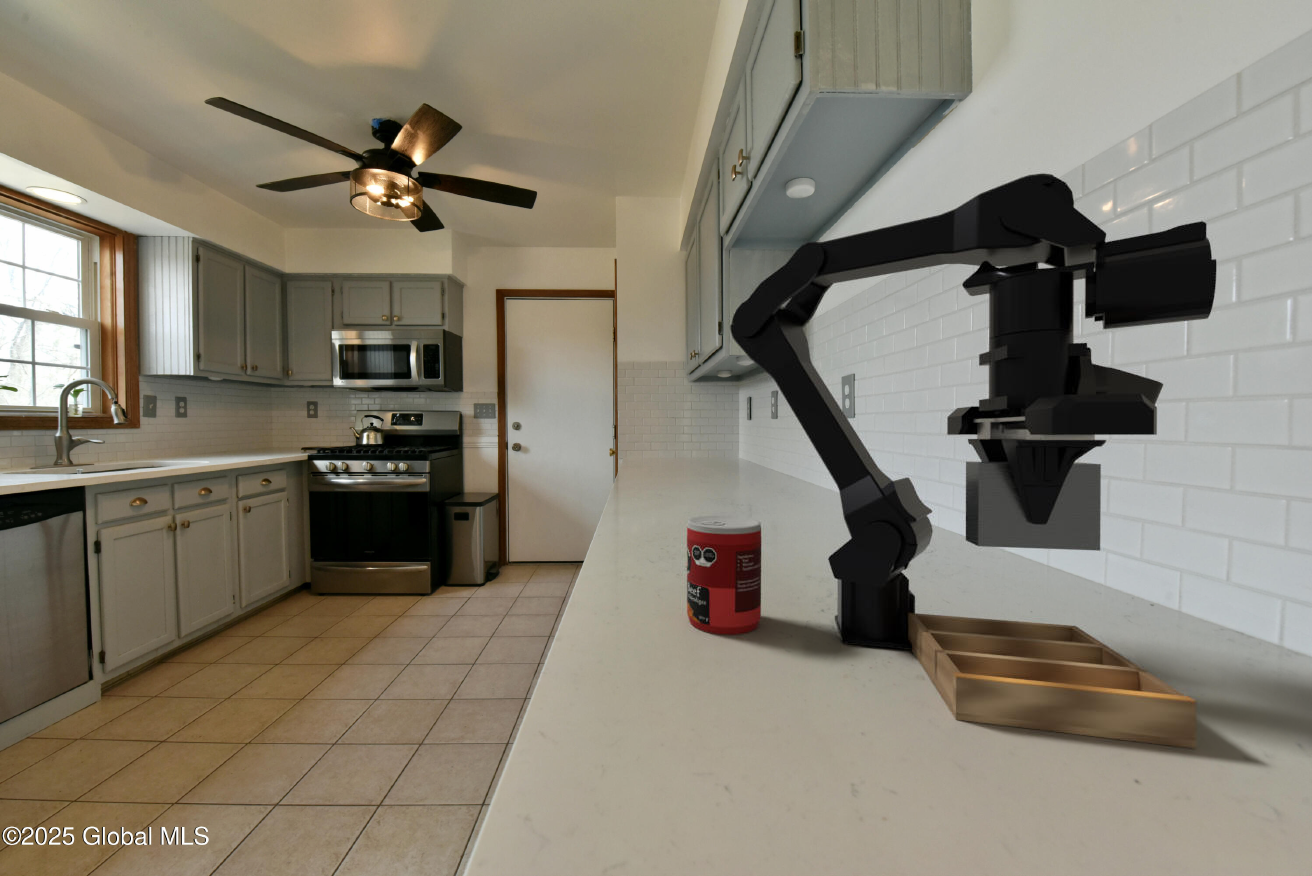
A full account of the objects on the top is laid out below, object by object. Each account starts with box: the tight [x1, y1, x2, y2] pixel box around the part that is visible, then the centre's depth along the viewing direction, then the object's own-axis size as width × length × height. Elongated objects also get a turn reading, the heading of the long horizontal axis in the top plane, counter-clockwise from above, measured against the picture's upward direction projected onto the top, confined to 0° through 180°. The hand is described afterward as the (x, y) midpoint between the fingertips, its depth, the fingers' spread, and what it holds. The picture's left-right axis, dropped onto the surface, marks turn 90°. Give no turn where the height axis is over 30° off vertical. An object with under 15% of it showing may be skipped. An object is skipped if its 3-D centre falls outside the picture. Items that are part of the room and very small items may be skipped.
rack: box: [908, 612, 1197, 749], centre depth 40 cm, size 14×13×3 cm
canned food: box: [686, 515, 762, 636], centre depth 54 cm, size 8×8×11 cm
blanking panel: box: [965, 461, 1102, 551], centre depth 42 cm, size 9×2×7 cm, turn 80°
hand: (1028, 521), depth 42 cm, fingers closed on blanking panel, 2 cm apart
